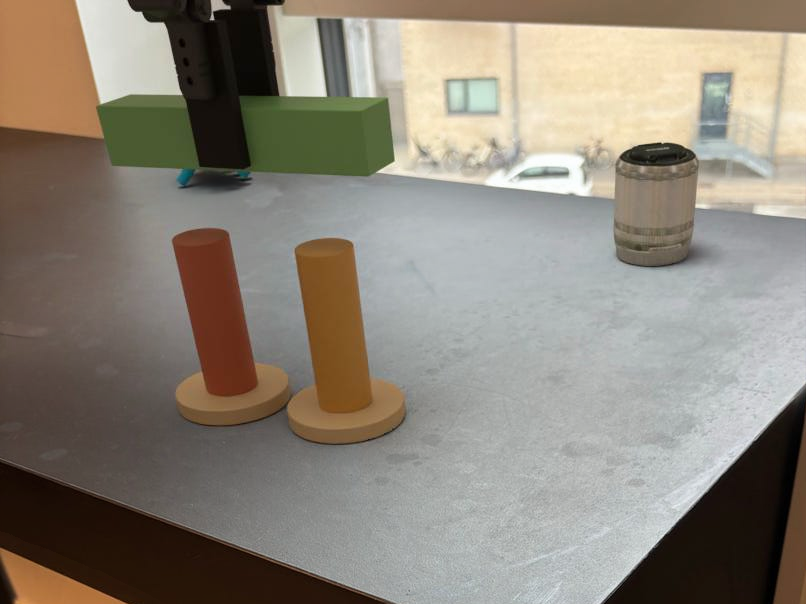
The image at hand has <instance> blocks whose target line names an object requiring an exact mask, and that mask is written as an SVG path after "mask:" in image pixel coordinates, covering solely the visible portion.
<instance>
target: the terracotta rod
mask: <svg viewBox="0 0 806 604" xmlns="http://www.w3.org/2000/svg"><path fill="white" fill-rule="evenodd" d="M230 237H231V236H230V233H229V231H227V230H226V229H223V228H217V227H203V228H202V227H201V228H193V229H190V230H189V229H188V230H185V231H182V232H180V233H178V234H176V235H174V236H173V237H172V238H171V244H172V247H173V248H172V249H173V252H174V257H175V262H176V266H177V269H178V270H177V271H178V273H179V278H180V283H181V287H182V291H183V296H184V299H185V304H186V309H187V313H188V316H189V317H188V318H189V322H190V325H191V326H190V327H191V331H192V335H193V339H194V343H195V348H196V352H197V356H198V361H199V365H200V370H201V371H199V372H196V373H194V374H193V375H190V376H189V377H187V378H185V379H184V380H183V381H182V382H181V383H180V384H178V386H177V387H176V390H175V394H174V397H175V400H176V404H177V408H178V412H179V413H180V415H181V416H182V417H183V418H185V419H186V420H188V421H190V422H193V423H196V424H200V425H206V426H233V425H240V424H246V423H251V422H254V421H258V420H261V419H264V418H266V417H268V416H271V415H273V414H275V413H276V412H278V411H279V410H281V409H283V408H284V407H285V406H286V405H288V403H289V401H290V400H291V398H292V390H291V383H290V378H289V376H288V374H287V373H286V372H285V371H284V370H283V369H281V368H279V367H277V366H274V365H270V364H267V363H258V362H255V359H254V354H253V350H252V344H251V339H250V333H249V329H248V322H247V318H246V313H245V309H244V308H245V307H244V303H243V298H242V291H241V288H240V282H239V277H238V273H237V267H236V263H235V257H234V252H233V246H232V242H231V238H230Z"/></svg>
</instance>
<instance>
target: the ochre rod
mask: <svg viewBox="0 0 806 604" xmlns="http://www.w3.org/2000/svg"><path fill="white" fill-rule="evenodd" d="M293 253H294V256H295V263H296V271H297V275H298V282H299V289H300V295H301V301H302V309H303V314H304V320H305V327H306V332H307V333H306V334H307V340H308V346H309V352H310V357H311V364H312V365H311V366H312V370H313V377H314V384H312V385H310V386H307V387H305V388H303V389H302V390H301V391H298V392H297V393H296V394H294V395H293V396H291V398H290V399H289V401H288V402H287V407H286V412H287V418H288V423H289V427H290V429H291V430H292V432H293V433H295V434H296V435H297V436H298V437H301V438H302V439H305V440H307V441H311V442H315V443H319V444H329V445H330V444H331V445H343V444H354V443H360V442H365V441H369V440H372V439H375V438H378V437H381V436H384V435H385V434H384V433H386V434H388V433H390V432H391V431H392V430H391V429H393V428H394V427H396V426H397V425H398V424H399V425H401V423H402V422H403V421H402V420H404V419H405V416H406V414H407V412H406V411H407V409H406V400H405V399H406V398H405V394H404V392H403V391H402V389H400V387H399V386H397V385H396V384H394V383H392V382H389V381H386V380H383V379H379V378H372V377H371V376H370V375H371V374H370V368H369V360H368V359H369V358H368V352H367V343H366V335H365V326H364V319H363V311H362V303H361V294H360V285H359V279H358V278H359V277H358V271H357V261H356V253H355V245H354V243H353V242H352V241H351V240H349V239H346V238H341V237H321V238H316V239H310V240H307V241H304V242H301V243H299V244H297V246H295V248H294V252H293ZM405 413H406V414H405ZM403 418H404V419H403ZM401 421H402V422H401ZM399 425H398V426H399ZM398 426H397V427H398ZM397 427H396V428H397ZM394 429H395V428H394ZM394 429H393V430H394ZM387 432H388V433H387ZM368 439H369V440H368Z"/></svg>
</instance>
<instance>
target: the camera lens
mask: <svg viewBox="0 0 806 604" xmlns="http://www.w3.org/2000/svg"><path fill="white" fill-rule="evenodd" d="M614 167H615V171H614V175H615V176H614V198H613V199H614V201H613V240H614V246H615V251H616V256H617V258H618V259H619V260H621V261H622V262H624V263H627V264H630V265H635V266H643V267H644V266H645V267H658V266H668V265H672V263H673V264H676V263H680V262H681V261H683V260H684V259H685V258H687V256H688V253H689V249H690V246H691V244H692V239H693V234H694V229H695V216H696V215H695V214H696V203H697V192H698V191H697V189H698V178H699V176H698V175H699V168H700V161H699V159H698V156H697V154H696V153H695V152H694V151H693V150H691V149H690V148H687V147H685V146H683V145H682V144H678V143H675V142H669V141H668V142H660V141H658V142H651V143H642V144H638V145H635V146H634V145H633V146H632V147H631V148H628V149H626V150H625V151H623V152H622V153H621V154H620V155H619V156H618V158H617V159H616V161H615V165H614Z"/></svg>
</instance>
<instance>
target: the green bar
mask: <svg viewBox="0 0 806 604" xmlns="http://www.w3.org/2000/svg"><path fill="white" fill-rule="evenodd" d="M239 100H240V105H241V113H242V118H243V124H244V129H245V135H246V140H247V146H248V152H249V157H250V163H251V166H250V167H248V168H245V169H226V168H207V167H199V162H198V157H197V152H196V148H195V143H194V138H193V133H192V128H191V124H190V119H189V114H188V109H187V104H186V100H185V99H184V97H183V95H182V94H141V93H140V94H139V93H138V94H137V93H135V94H134V93H132V94H131V93H130V94H127V95H124V96H121V97H118V98H115V99H113V100H110V101H106V102H103V103H101V104H97V105H96V106H95V108H96V112H97V117H98V120H99V123H100V128H101V132H102V134H103V135H102V136H103V138H104V142H105V146H106V150H107V154H108V158H109V161H110V164H111V166H112V167H126V168H127V167H128V168H129V167H130V168H131V167H132V168H155V169H174V170H175V169H177V170H182V169H196V171H197V170H201V171H221V172H222V171H223V172H224V171H225V172H236V171H245V172H250V173H270V174H271V173H272V174H296V175H297V174H298V175H320V176H324V175H325V176H342V177H343V176H346V177H367V178H369V177H370V176H373V175H374V174H376V173H378V172H379V171H381V170H383V169H385V168H386V167H388V166H389V165H392V164H393V163H395V161H396V159H395V150H394V149H395V147H394V141H393V140H394V139H393V130H392V121H391V113H390V103H389V98H388V97H386V96H385V97H384V96H383V97H378V96H377V97H375V96H374V97H372V96H305V95H304V96H302V95H300V96H297V95H295V96H293V95H279V96H239Z"/></svg>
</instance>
